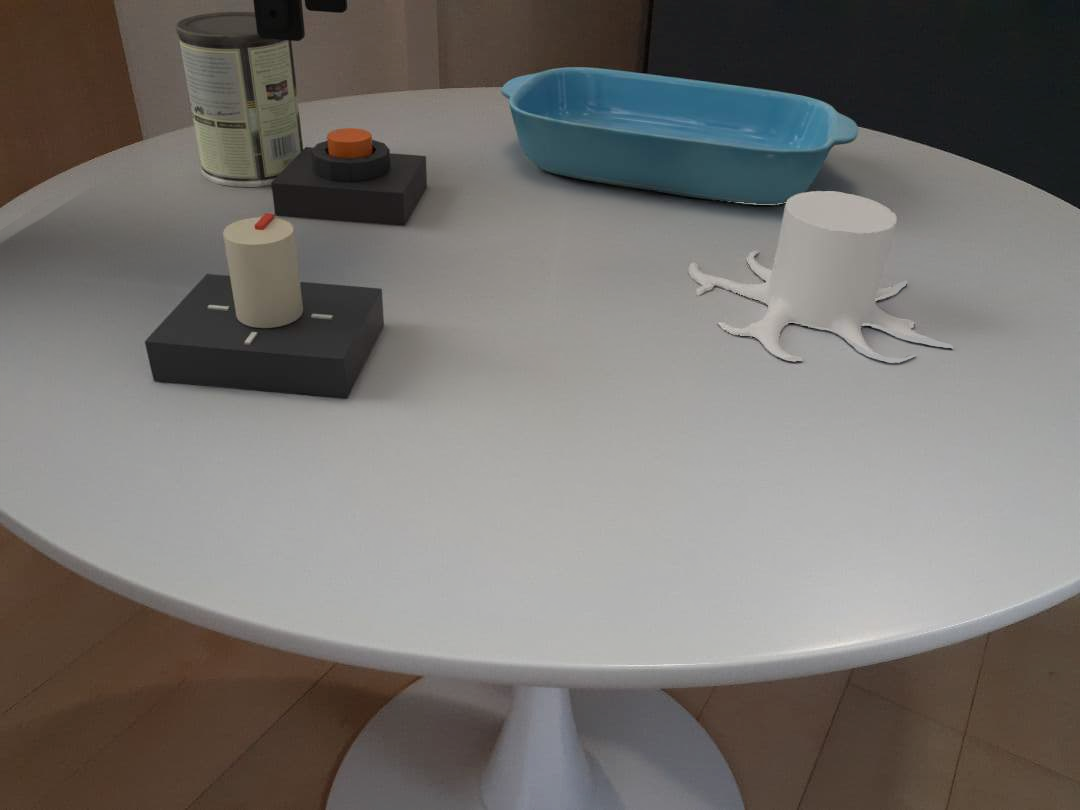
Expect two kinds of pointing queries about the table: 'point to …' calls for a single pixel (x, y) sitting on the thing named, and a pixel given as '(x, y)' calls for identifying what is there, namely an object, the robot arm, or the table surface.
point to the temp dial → (264, 271)
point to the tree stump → (821, 270)
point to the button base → (351, 186)
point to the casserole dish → (674, 133)
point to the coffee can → (240, 98)
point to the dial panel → (268, 341)
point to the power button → (349, 143)
